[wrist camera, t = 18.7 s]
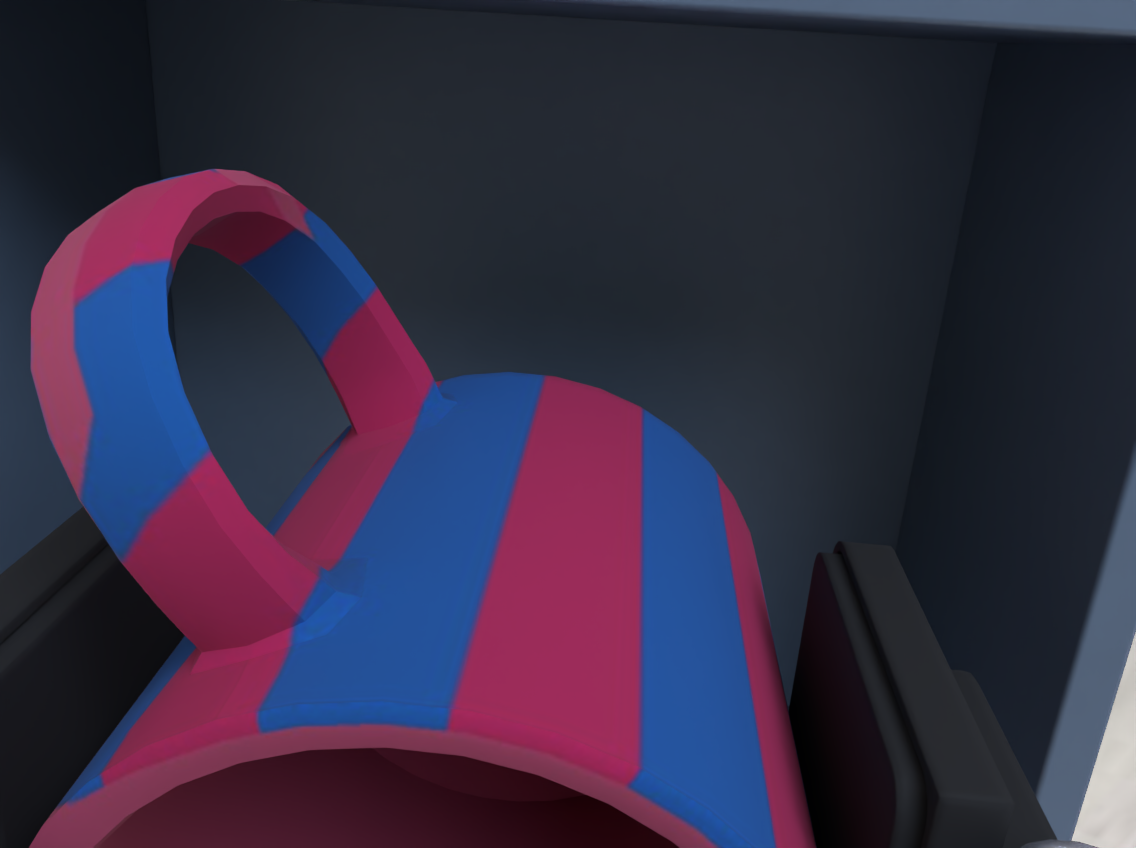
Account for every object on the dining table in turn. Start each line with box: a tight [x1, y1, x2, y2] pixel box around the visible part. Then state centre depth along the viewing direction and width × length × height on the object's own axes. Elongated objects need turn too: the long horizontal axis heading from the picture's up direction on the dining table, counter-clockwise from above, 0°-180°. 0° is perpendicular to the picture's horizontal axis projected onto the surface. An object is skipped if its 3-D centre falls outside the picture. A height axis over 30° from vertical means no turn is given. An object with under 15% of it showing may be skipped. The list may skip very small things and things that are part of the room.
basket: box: [0, 0, 1136, 841], centre depth 15 cm, size 8×14×15 cm
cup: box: [29, 169, 817, 848], centre depth 10 cm, size 7×10×7 cm
